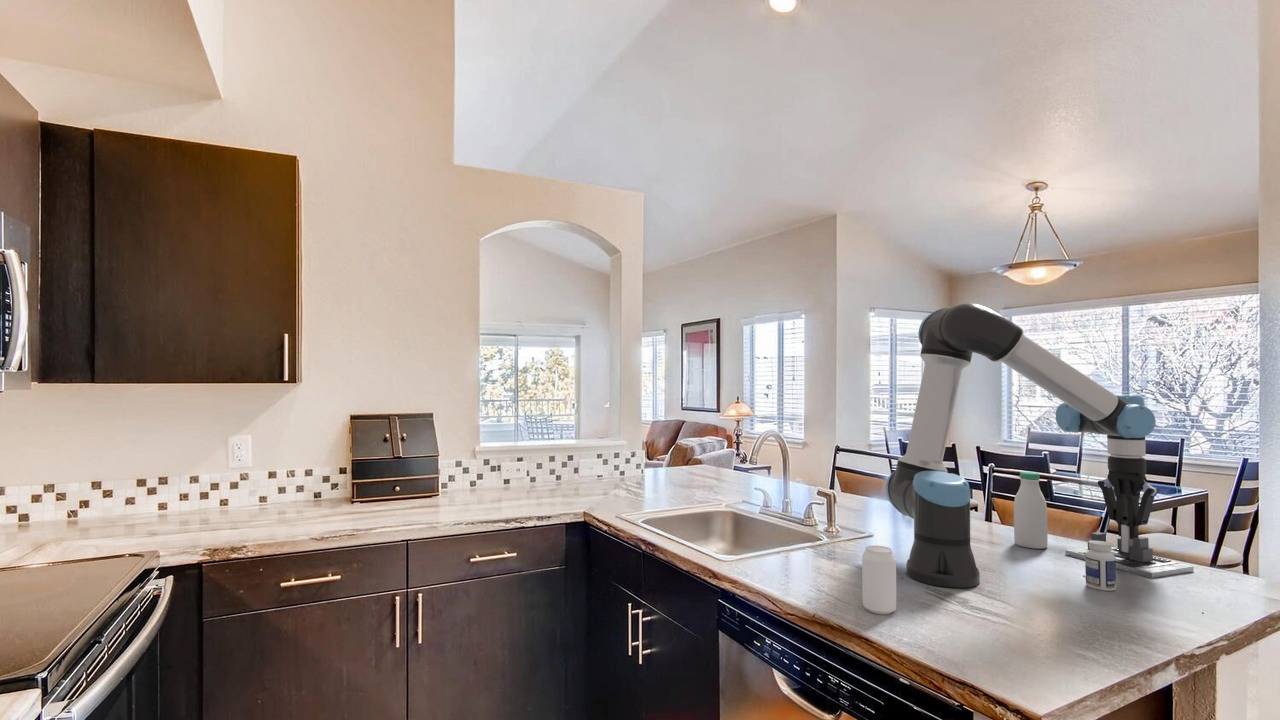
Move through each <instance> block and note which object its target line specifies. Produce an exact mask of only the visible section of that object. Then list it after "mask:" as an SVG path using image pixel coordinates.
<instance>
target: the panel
mask: <svg viewBox="0 0 1280 720" xmlns="http://www.w3.org/2000/svg"><path fill="white" fill-rule="evenodd" d="M1111 548H1112V550H1111V551H1110V553H1112V554H1113V555H1114V556H1115V558H1116V570H1121V571H1125V572H1128V573H1132V574H1135V575H1139V576H1142V577H1146V578H1150V579H1154V578H1155V579H1157V578H1162V577H1168V576H1169V577H1170V576H1174V575H1181V574H1187V573H1194V566H1193V565H1189V564H1184V563H1181V562H1177V563H1176V561H1173V562H1171V561H1172V560H1169V559H1168V560H1169V561H1166V560H1167V559H1165V558H1161V557H1157V556H1155V555H1154V556H1153V557H1154V558H1153V561H1149V562H1140V561H1136V560H1132V559H1130V553H1127V552H1123V551H1119V550H1117V549H1118V547H1115V546H1111ZM1086 551H1088V546H1087V547H1078V548H1073V549H1066V550H1065V555H1066V556H1069V555H1070V557H1072V556H1073V558H1077V559H1080V560H1084V561H1085V553H1086ZM1156 558H1158V559H1156ZM1161 559H1163V560H1161Z"/></svg>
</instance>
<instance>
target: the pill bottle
mask: <svg viewBox="0 0 1280 720" xmlns="http://www.w3.org/2000/svg"><path fill="white" fill-rule="evenodd" d="M1088 542H1089V548H1090V550H1088V551H1086V553H1085V560H1084V562H1085V565H1084V567H1085V568H1084V569H1085V585H1086V586H1087V587H1089V588H1091V589H1093V590H1094V589H1095V590H1098V591H1104V592H1105V591H1106V592H1112V591H1115V590H1116V589H1117V569H1116V558H1115V556H1114V555H1113V554H1112V553H1110V551H1111V550H1112V548H1111V547H1112V543H1110V542H1108V541H1106V542H1104V541H1091V540H1089V541H1088Z"/></svg>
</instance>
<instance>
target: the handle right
mask: <svg viewBox="0 0 1280 720" xmlns="http://www.w3.org/2000/svg"><path fill="white" fill-rule="evenodd" d="M1116 540H1117V544H1116V545H1117V548H1118V549H1119V551H1122V539H1121V537H1119V538H1116Z"/></svg>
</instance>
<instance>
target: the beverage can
mask: <svg viewBox="0 0 1280 720" xmlns="http://www.w3.org/2000/svg"><path fill="white" fill-rule="evenodd" d="M861 558H862V559H861V564H862V565H861V568H862V569H861V572H862V573H861V574H862V575H861V578H862V580H861V582H862V583H861V584H862V587H861V589H862V590H861V591H862V593H861V594H862V597H861V598H862V605H863V606H862V607H864V608H865V609H866V610H868V612H870V613H872V614H876V615H883V616H884V615H889V614H892V612H895V611H896V610H897V559H896V557H895V555H894V553H893V549H892V548H891V547H888V546H883V545H875V544H874V545H873V544H872V545H866V546H865V550H864V552H863V554H862V556H861Z"/></svg>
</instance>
